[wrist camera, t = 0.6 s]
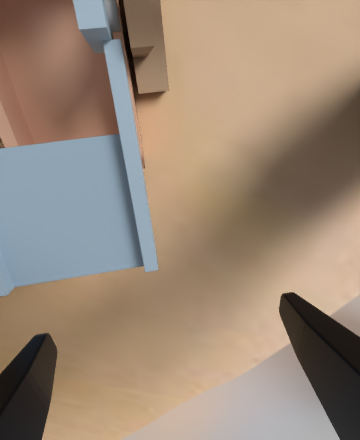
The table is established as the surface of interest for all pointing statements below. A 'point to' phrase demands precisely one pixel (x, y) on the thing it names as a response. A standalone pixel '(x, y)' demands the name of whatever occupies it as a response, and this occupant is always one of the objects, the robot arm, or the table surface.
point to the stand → (147, 44)
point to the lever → (78, 187)
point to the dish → (53, 77)
